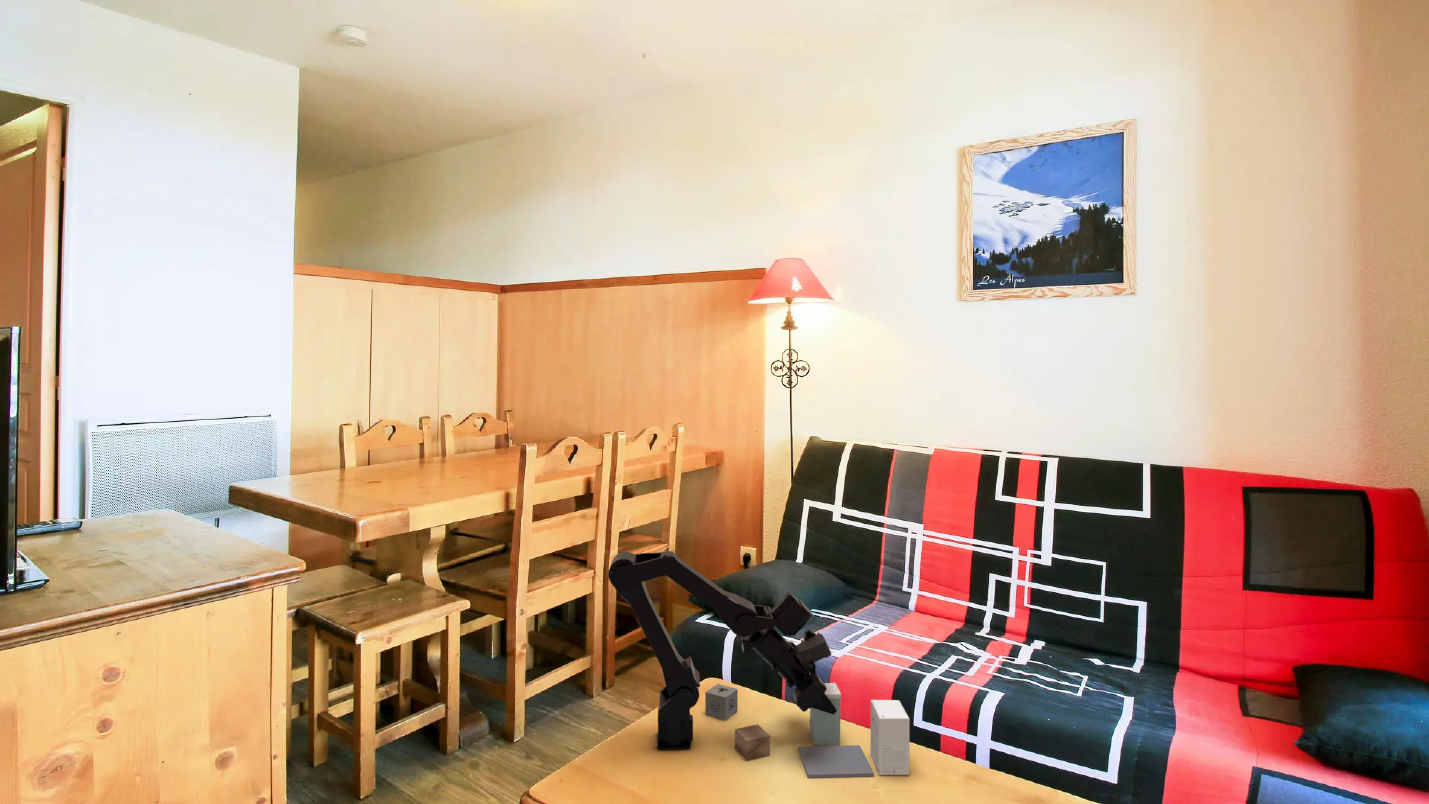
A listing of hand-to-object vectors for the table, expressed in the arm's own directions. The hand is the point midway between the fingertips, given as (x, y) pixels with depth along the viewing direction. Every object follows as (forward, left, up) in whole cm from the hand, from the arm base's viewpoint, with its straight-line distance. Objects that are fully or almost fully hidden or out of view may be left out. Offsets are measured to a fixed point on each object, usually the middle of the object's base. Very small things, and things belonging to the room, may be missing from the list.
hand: (832, 705), depth 143 cm
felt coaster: (-1, -9, -7) cm, 11 cm away
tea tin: (-1, 0, -7) cm, 7 cm away
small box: (+9, -10, -7) cm, 15 cm away
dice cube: (-21, +12, -7) cm, 25 cm away
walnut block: (-16, -5, -7) cm, 18 cm away
